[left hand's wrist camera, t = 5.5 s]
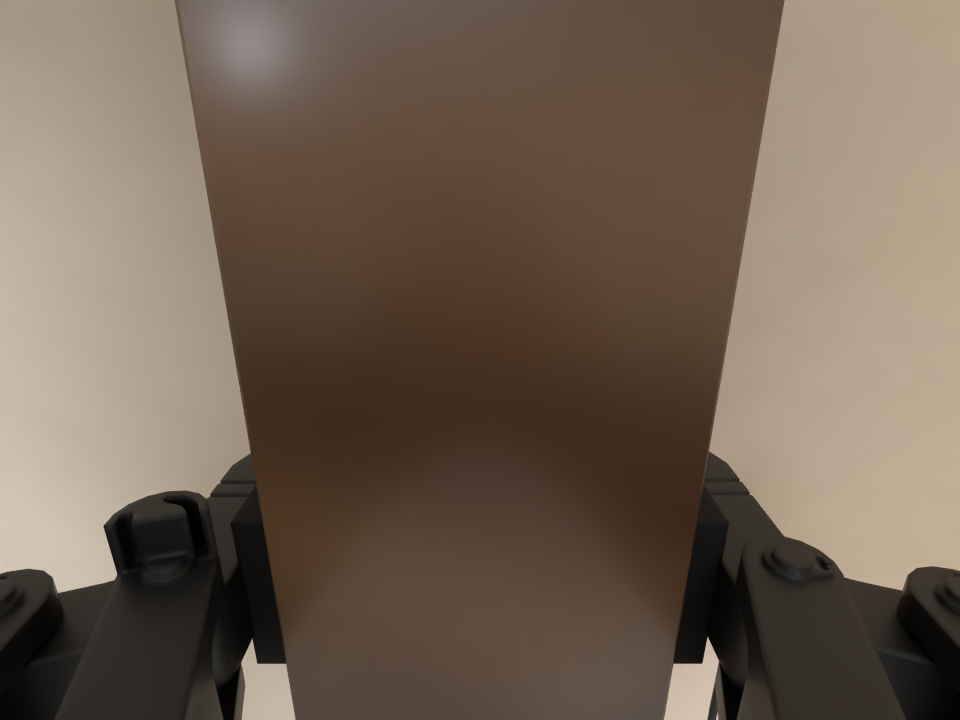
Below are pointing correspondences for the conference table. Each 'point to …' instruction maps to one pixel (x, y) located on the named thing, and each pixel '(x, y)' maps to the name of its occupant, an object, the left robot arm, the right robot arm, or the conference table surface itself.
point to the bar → (479, 330)
